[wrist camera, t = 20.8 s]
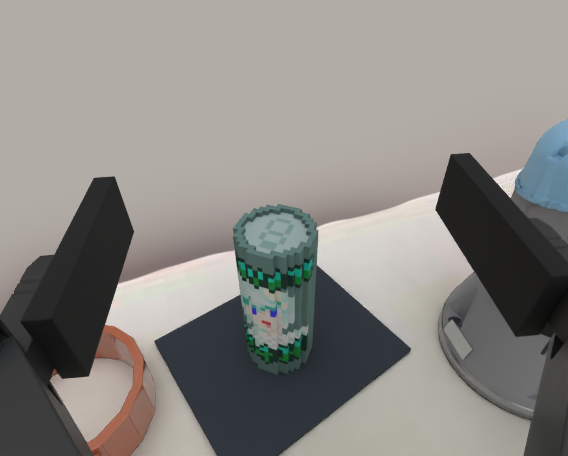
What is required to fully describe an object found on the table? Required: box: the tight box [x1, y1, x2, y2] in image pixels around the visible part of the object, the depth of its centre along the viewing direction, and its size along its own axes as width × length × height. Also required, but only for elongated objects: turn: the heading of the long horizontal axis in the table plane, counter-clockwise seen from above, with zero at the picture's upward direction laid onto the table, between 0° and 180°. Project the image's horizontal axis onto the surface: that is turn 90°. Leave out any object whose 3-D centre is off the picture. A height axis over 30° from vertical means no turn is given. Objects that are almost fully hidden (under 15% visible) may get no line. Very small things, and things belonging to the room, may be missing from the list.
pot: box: [51, 325, 155, 456], centre depth 33 cm, size 13×16×4 cm
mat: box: [155, 265, 411, 456], centre depth 39 cm, size 20×16×1 cm
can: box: [233, 204, 318, 375], centre depth 34 cm, size 6×6×15 cm
